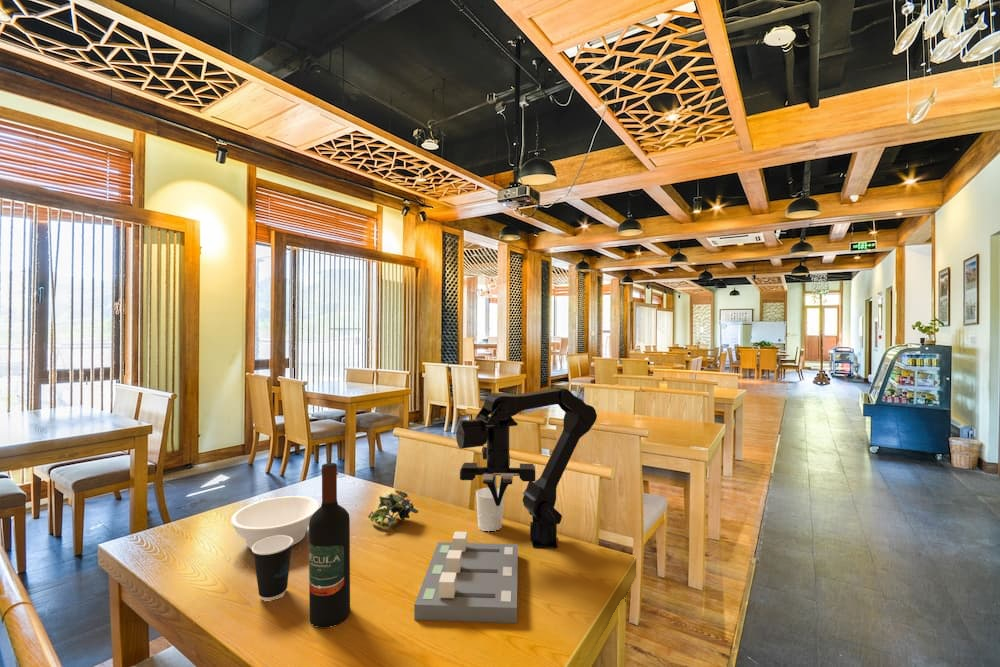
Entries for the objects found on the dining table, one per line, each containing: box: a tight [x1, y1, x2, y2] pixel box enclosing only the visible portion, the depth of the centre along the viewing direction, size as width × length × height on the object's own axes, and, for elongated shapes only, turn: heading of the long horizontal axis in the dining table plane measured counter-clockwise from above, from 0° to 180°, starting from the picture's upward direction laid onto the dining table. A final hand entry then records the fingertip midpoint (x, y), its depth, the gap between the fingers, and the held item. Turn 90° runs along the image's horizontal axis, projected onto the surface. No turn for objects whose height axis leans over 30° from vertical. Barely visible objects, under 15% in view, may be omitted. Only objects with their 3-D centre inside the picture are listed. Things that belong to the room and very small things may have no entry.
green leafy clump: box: [368, 490, 419, 531], centre depth 128 cm, size 11×11×12 cm
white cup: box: [475, 486, 505, 533], centre depth 127 cm, size 8×8×10 cm
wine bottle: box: [308, 462, 351, 628], centre depth 88 cm, size 8×8×30 cm
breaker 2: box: [452, 531, 468, 552], centre depth 108 cm, size 3×4×3 cm
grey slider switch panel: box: [413, 541, 519, 624], centre depth 99 cm, size 20×25×3 cm
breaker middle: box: [446, 550, 462, 573], centre depth 99 cm, size 3×4×3 cm
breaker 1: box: [439, 572, 456, 598], centre depth 90 cm, size 3×4×3 cm
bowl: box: [230, 495, 321, 550], centre depth 119 cm, size 21×21×8 cm
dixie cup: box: [251, 535, 293, 601], centre depth 95 cm, size 8×8×11 cm
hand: (498, 505), depth 113 cm, fingers closed
